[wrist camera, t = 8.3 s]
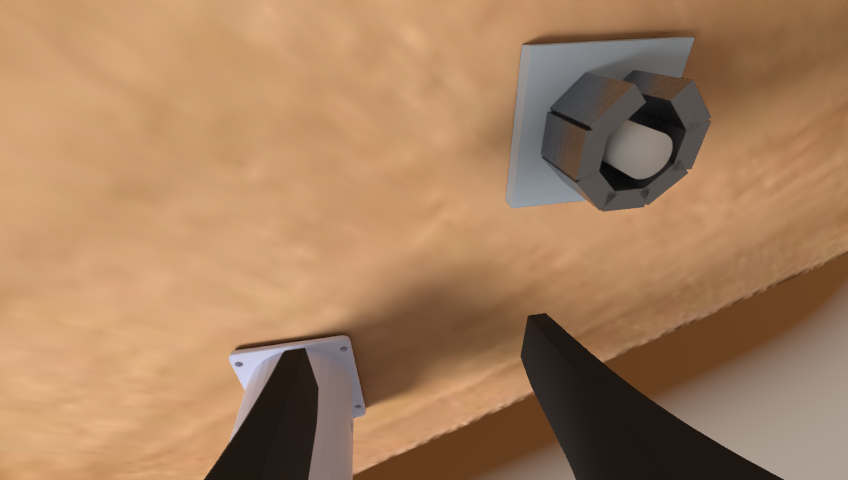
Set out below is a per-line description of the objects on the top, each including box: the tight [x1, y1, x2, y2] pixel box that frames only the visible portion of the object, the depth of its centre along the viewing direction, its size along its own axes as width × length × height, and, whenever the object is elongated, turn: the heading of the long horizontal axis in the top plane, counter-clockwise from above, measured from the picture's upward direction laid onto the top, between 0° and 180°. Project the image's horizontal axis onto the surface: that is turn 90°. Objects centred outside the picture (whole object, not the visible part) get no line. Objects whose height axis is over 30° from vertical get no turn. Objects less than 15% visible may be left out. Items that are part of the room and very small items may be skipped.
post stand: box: [506, 37, 695, 208], centre depth 16 cm, size 8×8×5 cm
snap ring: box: [541, 70, 711, 211], centre depth 16 cm, size 6×6×4 cm
